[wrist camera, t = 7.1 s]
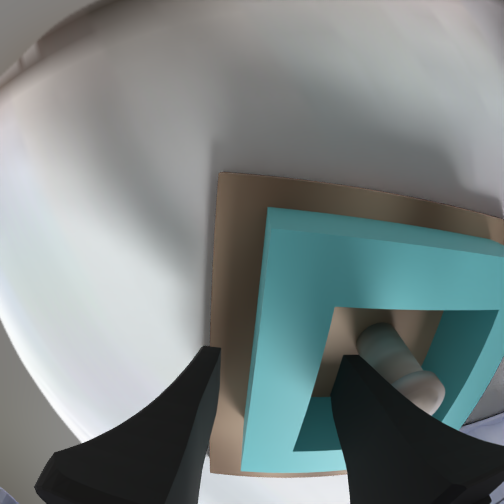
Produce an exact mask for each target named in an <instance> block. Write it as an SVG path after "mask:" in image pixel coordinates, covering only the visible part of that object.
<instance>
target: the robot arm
mask: <svg viewBox="0 0 504 504" xmlns="http://www.w3.org/2000/svg"><path fill="white" fill-rule="evenodd" d="M220 367H221V348H220V347H211V346H203V347H201V348H200V350H199V352H198V353H197V354H196V356H195V357H194V358H193V360H192V361H191V362H190V364H189V365H188V366H187V367H186V368H185V370H184V371H183V372H182V373H181V374H180V375H179V376H178V377H177V378H176V380H175V381H174V382H173V383H172V384H171V385H170V386H169V387H168V388H167V389H166V390H165V391H163V392H162V393H161V394H160V395H159V396H158V397H157V398H156V399H155V400H154V401H152V402H151V403H150V404H149V405H148V406H146V407H145V408H144V409H142V410H141V411H140V412H138V413H137V414H135V415H134V416H132V417H131V418H129V419H128V420H126V421H125V422H123V423H122V424H120V425H118V426H117V427H115V428H113V429H111V430H109V431H107V432H105V433H103V434H101V435H99V436H97V437H95V438H93V439H91V440H89V441H87V442H84V443H82V444H79V445H76V446H73V447H70V448H68V449H64V450H61V451H58V452H55V453H54V454H53V456H52V457H51V458H50V459H49V461H48V462H47V464H46V466H45V467H44V469H43V471H42V473H41V475H40V477H39V478H38V480H37V482H36V484H35V486H34V488H35V490H36V493H37V494H38V495H39V496H40V498H41V499H42V500H43V501H45V502H46V503H47V504H198V496H199V489H200V481H201V474H202V468H203V464H204V459H205V455H206V451H207V448H208V444H209V440H210V436H211V432H212V428H213V425H214V421H215V417H216V413H217V406H218V398H219V390H220ZM330 397H331V406H332V413H333V419H334V423H335V426H336V430H337V434H338V438H339V441H340V445H341V449H342V453H343V456H344V460H345V464H346V469H347V475H348V483H349V492H350V504H504V413H501V414H498V415H496V416H493V417H490V418H487V419H485V420H482V421H479V422H476V423H472V424H469V425H466V426H463V427H461V428H460V429H459V431H458V430H456V429H454V428H452V427H450V426H448V425H446V424H444V423H442V422H441V421H439V420H437V419H436V418H434V417H432V416H431V415H429V414H428V413H426V412H425V411H423V410H422V409H420V408H419V407H418V406H416V405H415V404H414V403H412V402H411V401H410V400H409V399H407V398H406V397H405V396H404V395H402V394H401V393H400V392H399V391H398V390H396V389H395V388H394V387H393V386H392V385H391V384H390V383H389V382H388V381H386V380H385V379H384V378H383V377H382V376H381V375H380V374H379V373H378V372H377V371H376V370H375V369H374V368H373V367H372V366H371V365H370V364H368V363H367V362H366V361H365V360H364V359H363V358H362V357H361V356H360V355H343V357H342V360H341V364H340V367H339V370H338V373H337V376H336V379H335V382H334V385H333V388H332V391H331V394H330ZM0 504H19V503H18V502H16V500H15V499H14V498H13V497H12V496H11V495H10V494H8V493H7V492H6V491H5V490H4V489H2V488H1V487H0Z"/></svg>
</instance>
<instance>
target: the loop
mask: <svg viewBox="0 0 504 504" xmlns="http://www.w3.org/2000/svg"><path fill="white" fill-rule="evenodd" d="M335 307H349V308H371V309H400V310H444V311H443V314H442V317H441V320H440V323H439V325H438V328H437V331H436V333H435V336H434V338H433V341H432V343H431V346H430V348H429V350H428V353H427V355H426V357H425V360H424V362H423V364H422V366H421V368H422V369H423V370H426V371H431V372H433V373H435V374H436V376H437V377H438V378H439V380H440V381H441V383H442V384H443V386H444V388H445V396H444V399H443V401H442V403H441V405H440V406H439V408H438V409H437V410H436V411H435V413H434V414H433V415H431V416H432V417H434V418H436V419H437V420H439V421H441V422H442V423H444V424H446V425H448V426H450V427H452V428H454V429H456V430H458V431H459V429H460V428H461V427H462V425H463V424H464V422H465V421H466V419H467V418H468V416H469V415H470V414H471V412H472V411H473V409H474V407H475V406H476V404H477V403H478V401H479V400H480V398H481V396H482V395H483V393H484V391H485V390H486V388H487V386H488V385H489V383H490V381H491V379H492V378H493V376H494V374H495V372H496V370H497V368H498V366H499V365H500V363H501V361H502V359H503V357H504V245H502V244H500V243H498V242H495V241H493V240H491V239H486V238H481V237H476V236H470V235H465V234H460V233H454V232H449V231H443V230H437V229H431V228H425V227H419V226H413V225H407V224H400V223H394V222H387V221H380V220H373V219H366V218H359V217H351V216H344V215H336V214H328V213H319V212H311V211H302V210H293V209H284V208H274V207H268V208H267V218H266V228H265V237H264V247H263V256H262V266H261V275H260V284H259V293H258V303H257V312H256V321H255V329H254V338H253V347H252V356H251V364H250V373H249V381H248V390H247V398H246V407H245V415H244V427H243V442H242V457H241V471H245V472H264V473H309V472H327V471H340V470H347V469H346V464H345V460H344V456H343V453H342V449H341V445H340V441H339V438H338V434H337V430H336V426H335V423H334V419H333V413H332V406H331V397H311V395H312V391H313V388H314V385H315V381H316V378H317V374H318V371H319V367H320V364H321V360H322V356H323V353H324V349H325V345H326V341H327V337H328V333H329V329H330V325H331V321H332V317H333V313H334V308H335Z"/></svg>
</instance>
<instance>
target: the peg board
mask: <svg viewBox="0 0 504 504" xmlns="http://www.w3.org/2000/svg"><path fill="white" fill-rule="evenodd" d="M268 207H274V208H284V209H293V210H302V211H311V212H319V213H328V214H336V215H344V216H351V217H359V218H366V219H373V220H380V221H387V222H394V223H400V224H407V225H413V226H419V227H425V228H431V229H437V230H443V231H449V232H454V233H460V234H465V235H470V236H476V237H481V238H486V239H491V240H493V241H495V242H498V243H500V244H502V245H504V219H501V218H498V217H494V216H490V215H487V214H483V213H479V212H475V211H471V210H467V209H463V208H459V207H455V206H451V205H446V204H442V203H438V202H433V201H428V200H424V199H419V198H414V197H409V196H404V195H399V194H393V193H388V192H382V191H377V190H371V189H365V188H359V187H353V186H346V185H339V184H333V183H325V182H318V181H310V180H302V179H294V178H285V177H276V176H266V175H256V174H244V173H232V172H220V173H219V174H218V187H217V201H216V216H215V232H214V250H213V270H212V293H211V322H210V346H211V347H220V348H221V367H220V390H219V398H218V406H217V413H216V417H215V421H214V425H213V428H212V432H211V436H210V440H209V442H210V473H216V474H225V475H236V476H250V477H277V478H292V477H320V476H334V475H344V474H347V470H340V471H327V472H309V473H264V472H245V471H241V457H242V442H243V427H244V415H245V407H246V398H247V390H248V381H249V373H250V364H251V356H252V347H253V338H254V329H255V321H256V312H257V303H258V293H259V284H260V275H261V266H262V256H263V247H264V237H265V228H266V218H267V208H268ZM443 311H444V310H400V309H371V308H349V307H335V308H334V313H333V317H332V321H331V325H330V329H329V333H328V337H327V341H326V345H325V349H324V353H323V356H322V360H321V364H320V367H319V371H318V374H317V378H316V381H315V385H314V388H313V391H312V395H311V397H330V394H331V391H332V388H333V385H334V382H335V379H336V376H337V373H338V370H339V367H340V364H341V360H342V357H343V355H360V356H361V357H362V358H363V359H364V360H365V361H366V362H367V363H368V364H370V365H371V366H372V367H373V368H374V369H375V370H376V371H377V372H378V373H379V374H380V375H381V376H382V377H383V378H384V379H385V380H386V381H388V382H389V383H390V384H391V385H392V386H393V387H394V388H395V389H396V390H398V391H399V392H400V393H401V394H402V395H404V396H405V397H406V398H407V399H409V400H410V401H411V402H412V403H414V404H415V405H416V406H418V407H419V408H420V409H422V410H423V411H425V412H426V413H428V414H429V415H433V414H434V413H435V411H436V410H437V409H438V408H439V406H440V405H441V403H442V401H443V399H444V396H445V388H444V386H443V384H442V383H441V381H440V380H439V378H438V377H437V376H436V374H435V373H433V372H431V371H426V370H423V369H422V368H421V366H422V364H423V362H424V360H425V357H426V355H427V353H428V350H429V348H430V346H431V343H432V341H433V338H434V336H435V333H436V331H437V328H438V325H439V323H440V320H441V317H442V314H443Z"/></svg>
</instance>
